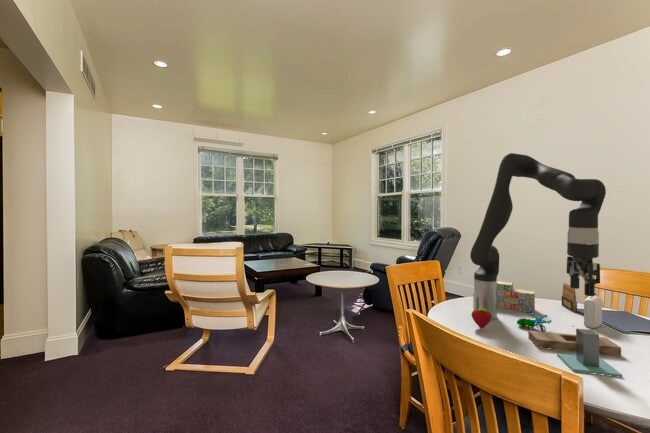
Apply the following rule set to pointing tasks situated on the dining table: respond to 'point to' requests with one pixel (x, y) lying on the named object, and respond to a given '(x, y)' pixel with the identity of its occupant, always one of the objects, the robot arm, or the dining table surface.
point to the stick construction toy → (533, 322)
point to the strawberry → (481, 317)
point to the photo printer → (592, 311)
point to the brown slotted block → (570, 342)
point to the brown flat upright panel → (569, 298)
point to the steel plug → (587, 347)
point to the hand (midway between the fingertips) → (581, 291)
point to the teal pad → (578, 367)
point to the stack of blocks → (515, 298)
